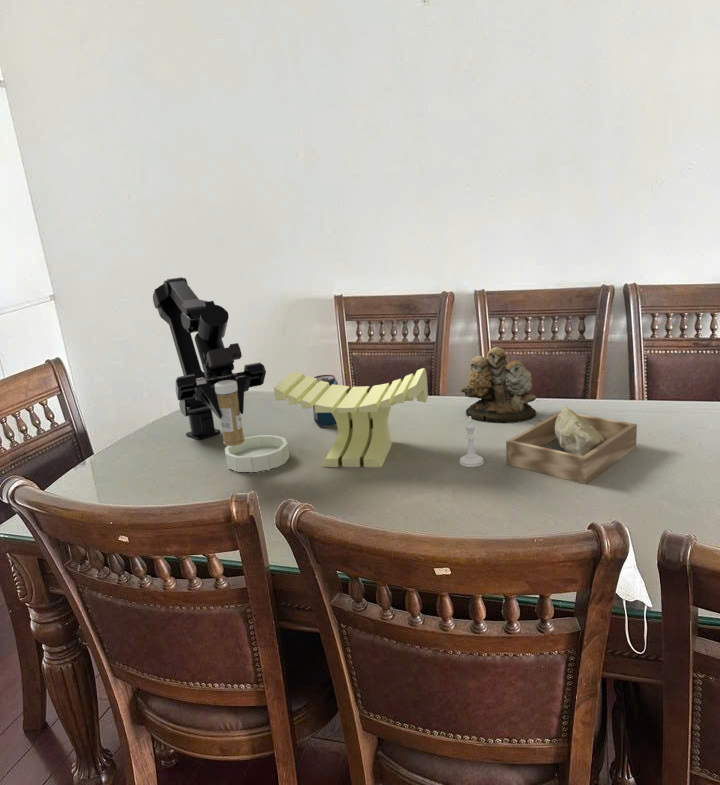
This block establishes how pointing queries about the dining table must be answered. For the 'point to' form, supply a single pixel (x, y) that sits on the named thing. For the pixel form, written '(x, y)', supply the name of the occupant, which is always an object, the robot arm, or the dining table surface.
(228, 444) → the sprinkles bottle
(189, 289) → the robot arm
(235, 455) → the bowl
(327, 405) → the slatted curved stool
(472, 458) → the chess piece
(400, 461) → the dining table surface
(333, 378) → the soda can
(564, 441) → the pale beige rock
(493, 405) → the owl figurine
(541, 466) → the light brown wooden tray
